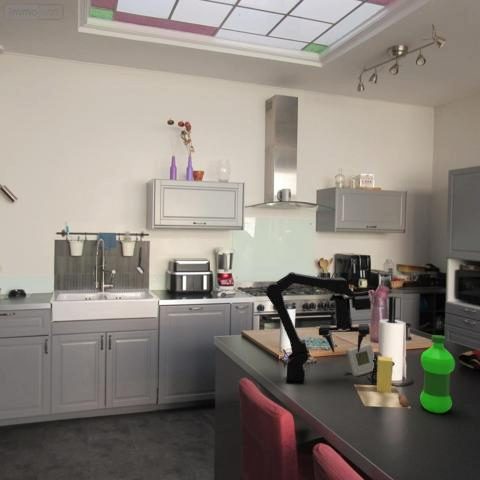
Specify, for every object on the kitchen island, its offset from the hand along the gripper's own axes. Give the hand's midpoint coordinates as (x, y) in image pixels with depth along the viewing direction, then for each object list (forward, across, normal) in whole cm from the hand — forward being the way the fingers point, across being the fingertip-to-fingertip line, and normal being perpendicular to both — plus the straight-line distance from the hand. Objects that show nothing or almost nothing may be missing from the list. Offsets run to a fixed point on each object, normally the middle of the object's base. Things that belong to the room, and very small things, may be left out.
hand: (345, 352), depth 187 cm
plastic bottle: (+15, -29, +18) cm, 37 cm away
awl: (+13, -19, +14) cm, 27 cm away
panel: (+13, -12, +11) cm, 21 cm away
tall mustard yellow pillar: (+13, -13, +4) cm, 19 cm away
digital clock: (+14, -4, -17) cm, 22 cm away
